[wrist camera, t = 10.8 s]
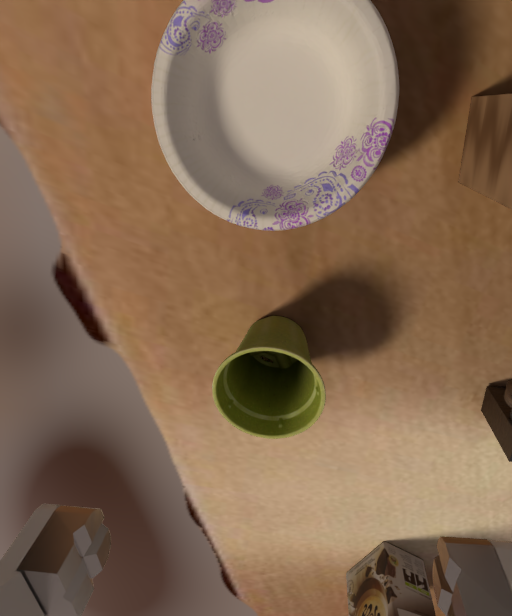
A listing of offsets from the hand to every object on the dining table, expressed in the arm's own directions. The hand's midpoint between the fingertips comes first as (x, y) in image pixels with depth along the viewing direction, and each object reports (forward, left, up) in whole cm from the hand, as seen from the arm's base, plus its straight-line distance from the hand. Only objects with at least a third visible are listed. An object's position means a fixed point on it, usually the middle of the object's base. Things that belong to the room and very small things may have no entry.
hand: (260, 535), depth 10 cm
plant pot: (+12, -3, -29) cm, 31 cm away
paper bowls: (-9, -2, -29) cm, 30 cm away
